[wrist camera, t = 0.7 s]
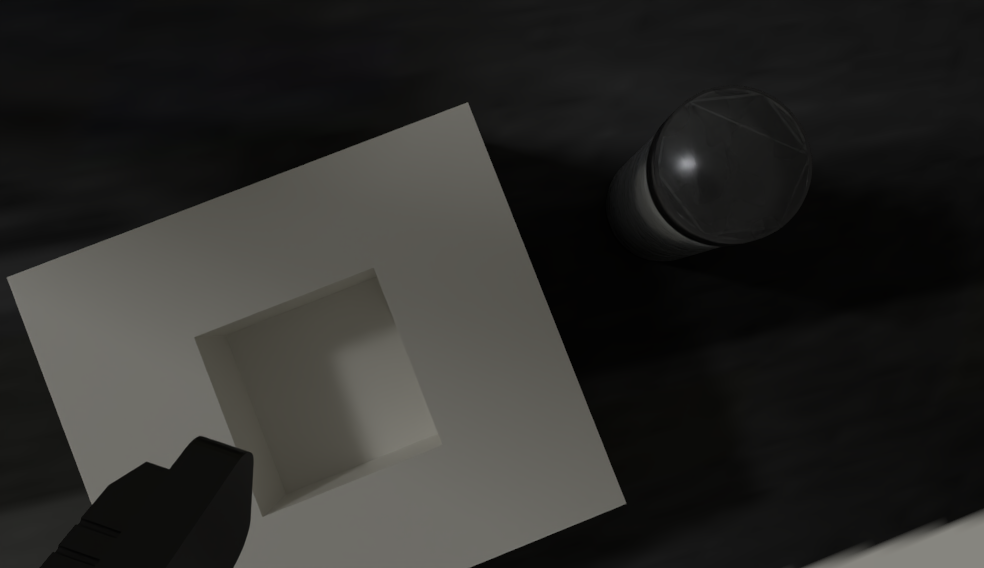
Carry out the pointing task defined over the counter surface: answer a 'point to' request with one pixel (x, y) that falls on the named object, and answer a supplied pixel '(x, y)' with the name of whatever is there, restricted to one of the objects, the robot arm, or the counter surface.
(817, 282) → the counter surface
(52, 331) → the grey block with recess
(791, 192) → the lens
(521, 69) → the counter surface
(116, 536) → the robot arm
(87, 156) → the counter surface
